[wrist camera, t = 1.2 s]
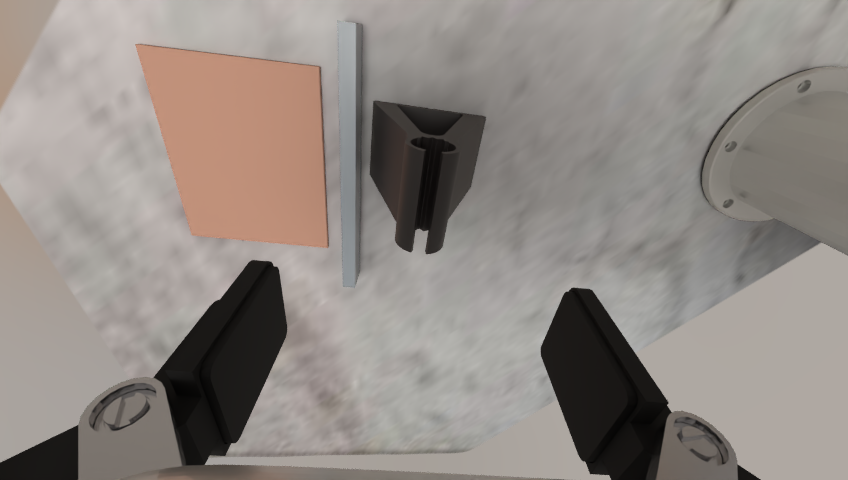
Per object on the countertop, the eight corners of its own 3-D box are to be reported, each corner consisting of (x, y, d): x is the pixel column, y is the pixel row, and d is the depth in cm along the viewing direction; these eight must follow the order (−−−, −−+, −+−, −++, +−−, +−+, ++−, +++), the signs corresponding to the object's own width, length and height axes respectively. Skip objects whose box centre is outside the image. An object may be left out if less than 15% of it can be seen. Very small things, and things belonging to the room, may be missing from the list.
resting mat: (320, 66, 25) (318, 67, 24) (328, 245, 33) (327, 247, 33) (139, 44, 24) (135, 44, 24) (194, 233, 32) (191, 235, 32)
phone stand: (485, 116, 27) (524, 164, 16) (470, 185, 30) (493, 262, 19) (374, 99, 26) (341, 138, 16) (370, 172, 29) (340, 244, 19)
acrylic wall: (362, 24, 23) (356, 22, 21) (359, 272, 35) (355, 287, 33) (345, 22, 23) (337, 20, 21) (347, 271, 35) (342, 286, 32)
